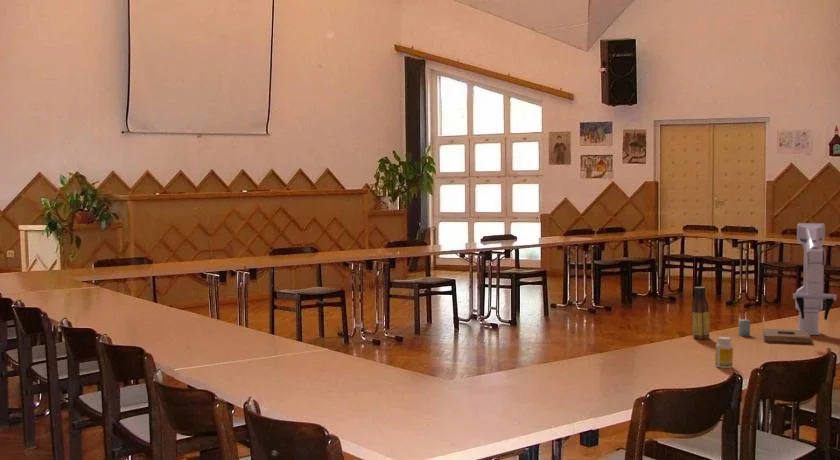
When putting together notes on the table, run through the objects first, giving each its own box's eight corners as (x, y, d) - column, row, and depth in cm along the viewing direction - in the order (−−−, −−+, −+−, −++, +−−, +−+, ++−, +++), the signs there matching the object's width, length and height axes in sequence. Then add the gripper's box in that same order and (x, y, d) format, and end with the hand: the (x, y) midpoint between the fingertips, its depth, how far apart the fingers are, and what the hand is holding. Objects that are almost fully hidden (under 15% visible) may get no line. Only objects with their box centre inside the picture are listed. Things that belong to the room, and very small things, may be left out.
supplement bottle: (711, 366, 305) (712, 337, 304) (723, 364, 307) (723, 335, 307) (724, 369, 300) (724, 339, 299) (736, 367, 303) (736, 338, 302)
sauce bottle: (707, 336, 359) (708, 286, 357) (711, 339, 352) (711, 288, 351) (690, 336, 359) (690, 286, 358) (693, 339, 353) (694, 288, 352)
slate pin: (738, 334, 364) (739, 319, 363) (749, 334, 362) (749, 319, 362) (738, 336, 360) (739, 320, 359) (749, 336, 358) (750, 321, 358)
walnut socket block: (763, 334, 362) (763, 328, 361) (807, 336, 356) (807, 330, 356) (764, 342, 346) (764, 335, 346) (810, 344, 341) (810, 337, 341)
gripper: (794, 282, 335) (793, 319, 335) (837, 283, 330) (837, 321, 331) (792, 280, 341) (792, 316, 342) (835, 281, 337) (834, 318, 337)
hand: (814, 318), depth 337 cm, fingers open, 7 cm apart
